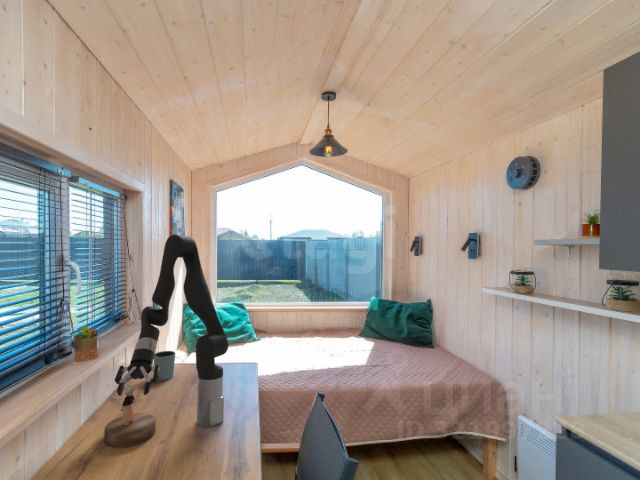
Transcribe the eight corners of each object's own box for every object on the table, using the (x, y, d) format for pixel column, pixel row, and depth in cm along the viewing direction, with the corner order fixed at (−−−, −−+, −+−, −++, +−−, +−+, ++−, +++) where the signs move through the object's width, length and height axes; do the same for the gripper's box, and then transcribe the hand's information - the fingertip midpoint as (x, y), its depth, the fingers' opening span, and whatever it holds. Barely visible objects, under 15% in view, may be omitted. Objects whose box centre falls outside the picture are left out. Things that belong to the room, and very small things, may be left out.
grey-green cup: (179, 375, 188) (179, 351, 188) (165, 382, 178) (166, 357, 178) (162, 373, 191) (162, 349, 191) (148, 380, 181) (148, 355, 181)
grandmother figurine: (130, 426, 127) (131, 389, 128) (118, 427, 127) (119, 390, 127) (137, 416, 135) (139, 381, 135) (126, 417, 135) (128, 381, 135)
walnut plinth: (164, 434, 131) (164, 422, 131) (116, 453, 118) (117, 441, 118) (142, 419, 141) (142, 409, 141) (96, 436, 128) (96, 425, 128)
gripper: (122, 347, 138) (107, 390, 127) (161, 347, 140) (151, 389, 128) (127, 357, 143) (114, 399, 132) (165, 356, 145) (155, 398, 134)
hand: (132, 394), depth 130 cm, fingers open, 8 cm apart
